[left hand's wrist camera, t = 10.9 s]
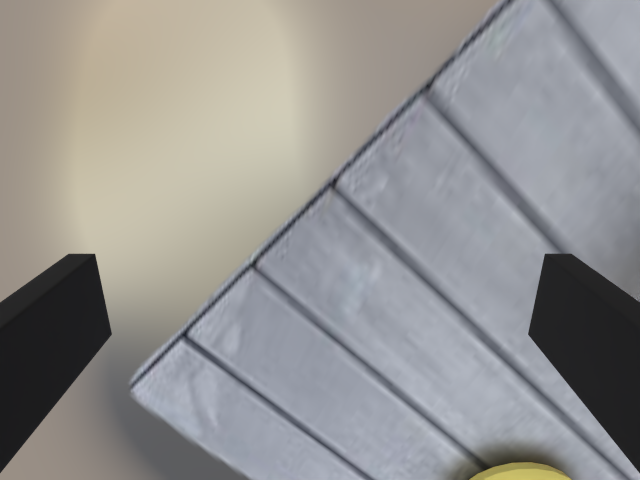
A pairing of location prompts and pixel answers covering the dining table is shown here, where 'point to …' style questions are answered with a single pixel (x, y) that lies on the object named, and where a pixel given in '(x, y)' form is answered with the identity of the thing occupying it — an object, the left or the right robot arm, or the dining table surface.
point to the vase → (521, 472)
